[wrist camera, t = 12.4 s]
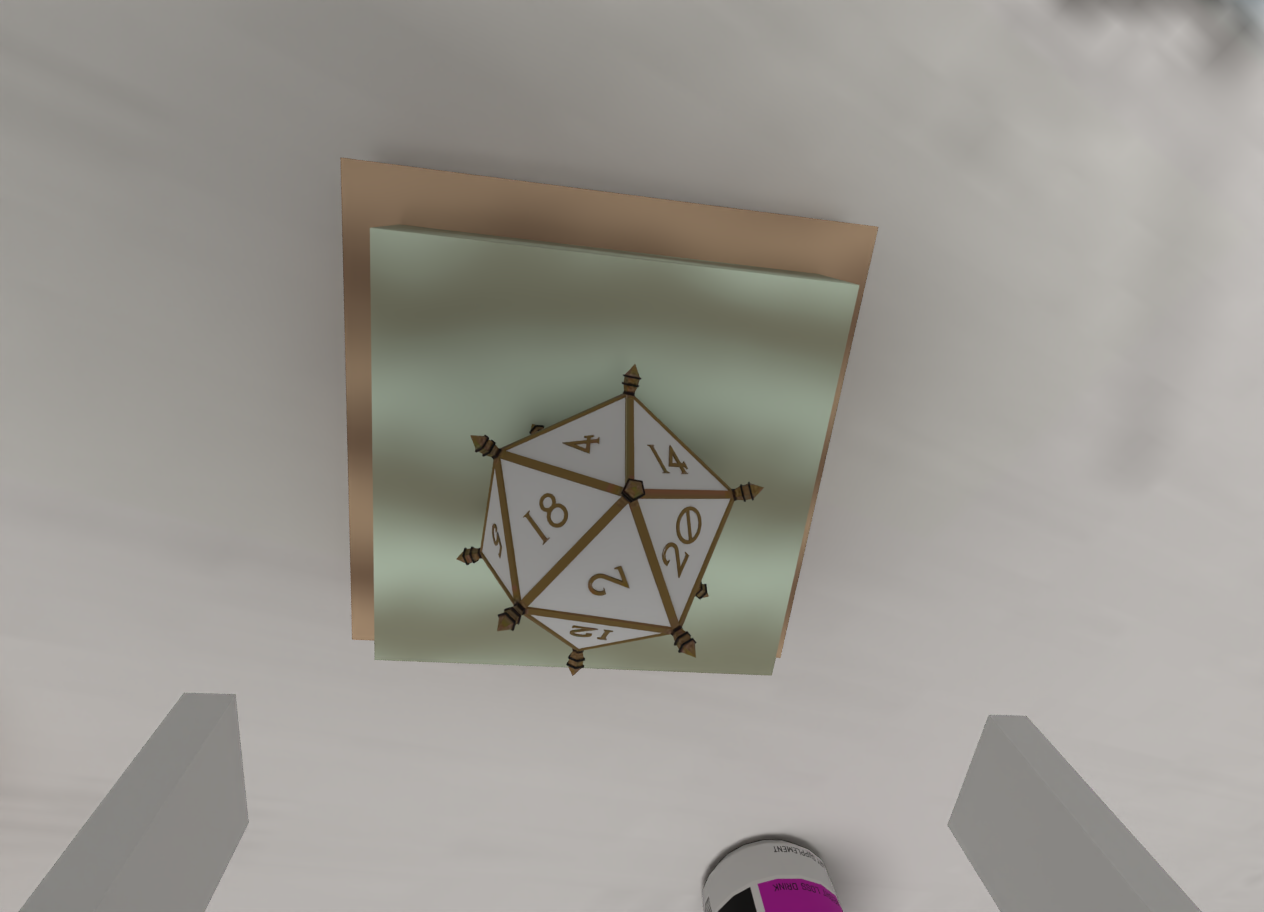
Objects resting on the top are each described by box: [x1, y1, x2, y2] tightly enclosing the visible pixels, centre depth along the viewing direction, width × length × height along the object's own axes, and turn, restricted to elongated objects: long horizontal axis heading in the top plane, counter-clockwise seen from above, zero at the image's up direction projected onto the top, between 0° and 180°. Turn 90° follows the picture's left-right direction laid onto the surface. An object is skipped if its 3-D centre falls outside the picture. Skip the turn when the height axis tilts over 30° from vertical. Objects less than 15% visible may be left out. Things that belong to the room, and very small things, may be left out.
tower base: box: [341, 158, 878, 675], centre depth 28 cm, size 20×20×8 cm
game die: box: [457, 364, 764, 676], centre depth 21 cm, size 9×8×10 cm
